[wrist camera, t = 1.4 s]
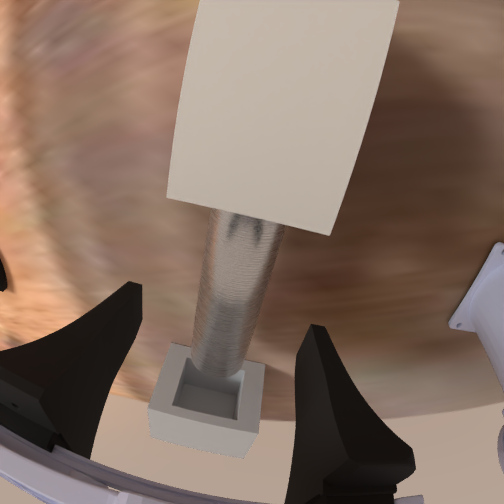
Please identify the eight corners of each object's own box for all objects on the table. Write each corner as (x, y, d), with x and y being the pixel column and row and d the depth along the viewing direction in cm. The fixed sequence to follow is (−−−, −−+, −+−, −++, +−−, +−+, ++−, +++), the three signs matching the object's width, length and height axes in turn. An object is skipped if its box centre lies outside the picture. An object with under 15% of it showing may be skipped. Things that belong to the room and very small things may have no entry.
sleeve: (357, 26, 13) (399, 1, 7) (315, 178, 18) (329, 235, 12) (239, -2, 13) (211, -42, 7) (207, 152, 18) (166, 197, 12)
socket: (265, 364, 26) (258, 433, 20) (251, 397, 29) (243, 458, 23) (171, 342, 26) (147, 407, 20) (169, 378, 29) (150, 437, 23)
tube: (342, -4, 11) (358, -24, 8) (246, 342, 22) (240, 383, 19) (266, -22, 11) (260, -47, 8) (196, 331, 22) (184, 370, 19)
